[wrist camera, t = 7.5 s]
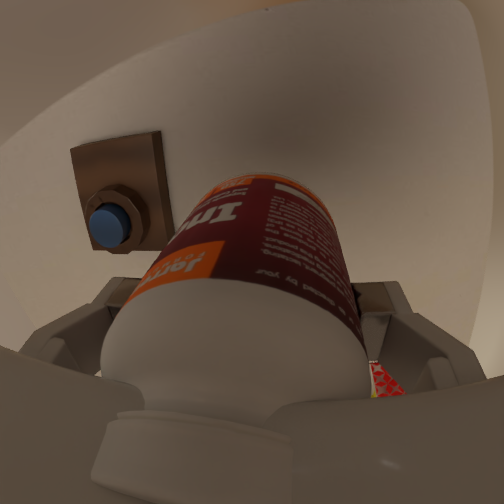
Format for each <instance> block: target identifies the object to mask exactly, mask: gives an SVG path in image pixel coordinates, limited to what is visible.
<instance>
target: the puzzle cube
mask: <svg viewBox="0 0 504 504" xmlns="http://www.w3.org/2000/svg"><path fill="white" fill-rule="evenodd" d="M369 368H370V374H371V384H372V393H371V398H374V397H385V396H394V395H403V394H407V393H406V392H405V391H404V390H403V389H402V388H401V387H400V386H399V384H398V383H397V382H396V381H395V380H394V379H393V378H392V377H391V376H390V375H389V374H388V372H387V371H386V370H385V369H384V368H383V367H382V366H381V365H380V364H379V363H370V364H369Z"/></svg>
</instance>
